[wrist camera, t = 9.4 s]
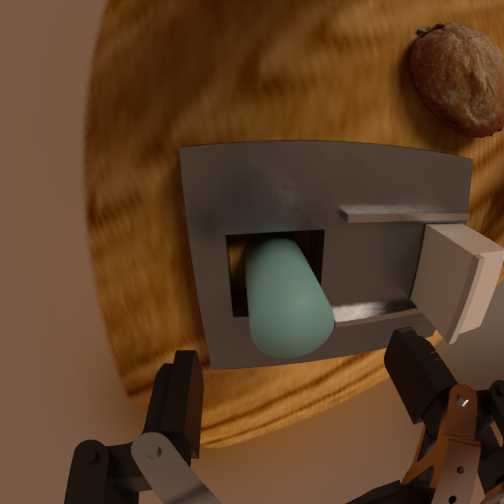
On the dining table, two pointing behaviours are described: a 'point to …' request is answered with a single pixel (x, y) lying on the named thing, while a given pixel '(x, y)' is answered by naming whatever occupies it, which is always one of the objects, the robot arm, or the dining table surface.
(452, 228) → the block
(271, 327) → the peg
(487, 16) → the dining table surface
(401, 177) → the housing
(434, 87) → the bread roll
